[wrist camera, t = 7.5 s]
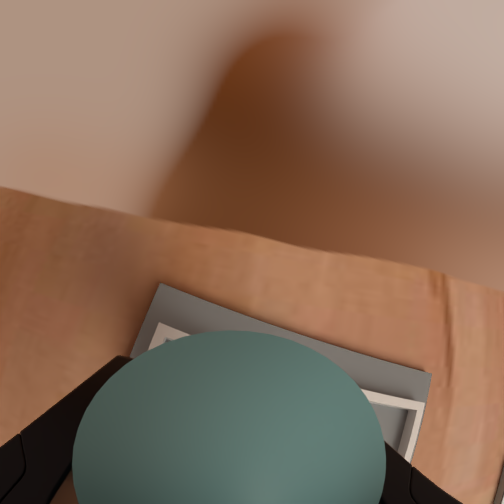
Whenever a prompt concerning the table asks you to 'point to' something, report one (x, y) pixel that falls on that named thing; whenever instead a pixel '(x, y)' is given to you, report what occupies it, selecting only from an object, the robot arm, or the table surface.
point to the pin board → (354, 364)
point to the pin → (229, 428)
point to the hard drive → (500, 491)
